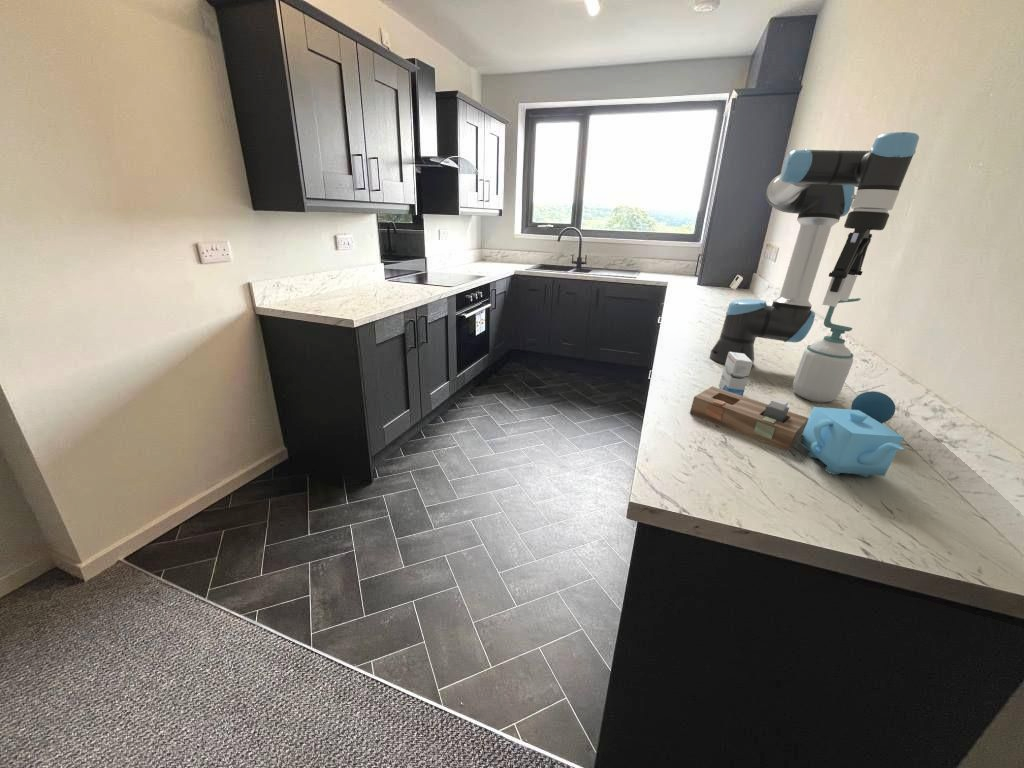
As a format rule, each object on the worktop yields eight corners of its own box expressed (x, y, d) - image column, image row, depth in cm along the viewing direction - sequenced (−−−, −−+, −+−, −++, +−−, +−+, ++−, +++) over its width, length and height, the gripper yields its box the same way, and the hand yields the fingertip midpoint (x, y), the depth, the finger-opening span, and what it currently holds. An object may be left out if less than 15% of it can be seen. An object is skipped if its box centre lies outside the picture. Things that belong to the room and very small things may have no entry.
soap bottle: (830, 409, 121) (873, 303, 109) (783, 394, 129) (819, 295, 117) (840, 399, 129) (882, 299, 117) (796, 385, 137) (830, 291, 125)
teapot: (786, 447, 98) (804, 398, 93) (851, 451, 98) (873, 403, 93) (839, 495, 82) (865, 439, 77) (917, 500, 82) (948, 445, 77)
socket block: (708, 401, 120) (712, 385, 118) (802, 435, 104) (809, 417, 102) (689, 413, 112) (693, 395, 110) (787, 451, 96) (795, 432, 94)
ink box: (742, 398, 124) (754, 361, 120) (725, 396, 125) (736, 359, 120) (734, 387, 132) (744, 353, 127) (718, 385, 133) (728, 351, 128)
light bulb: (843, 423, 112) (861, 383, 108) (882, 436, 107) (902, 394, 102) (838, 433, 107) (856, 391, 102) (878, 446, 102) (900, 403, 97)
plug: (763, 424, 107) (773, 396, 104) (781, 430, 104) (791, 402, 101) (758, 428, 104) (768, 400, 101) (775, 435, 101) (786, 406, 98)
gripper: (859, 212, 105) (828, 295, 114) (838, 207, 89) (804, 304, 97) (897, 214, 100) (862, 300, 109) (882, 209, 84) (843, 311, 92)
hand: (835, 302), depth 103 cm, fingers open, 13 cm apart
